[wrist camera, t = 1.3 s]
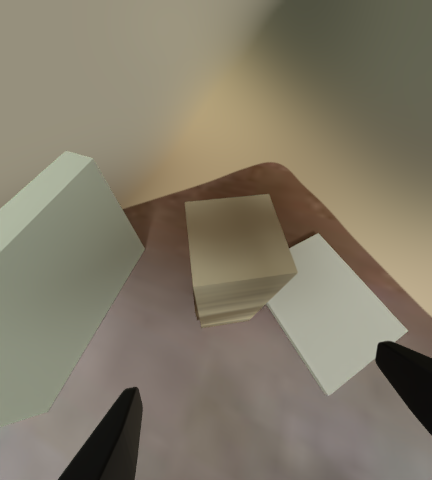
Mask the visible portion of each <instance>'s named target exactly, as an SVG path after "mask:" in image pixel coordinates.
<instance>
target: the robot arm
mask: <svg viewBox="0 0 432 480" xmlns="http://www.w3.org/2000/svg"><path fill="white" fill-rule="evenodd" d="M375 360H376V364H377V366H378V367H379V369H380V370H381V371H382V373H383V374H384V375H385V377H386V378H387V379H388V381H389V382H390V383H391V385H392V386H393V387H394V389H395V390H396V392H397V393H398V394H399V396H400V397H401V398H402V400H403V401H404V402H405V404H406V405H407V406H408V408H409V409H410V410H411V412H412V413H413V414H414V415H415V416H416V418H417V419H418V420H419V421H420V422H421V424H422V425H423V426H424V427H425V428H426V429H427V431H428V432H429V433H430V434H431V435H432V358H430V357H428V356H425V355H423V354H421V353H418V352H416V351H413V350H411V349H409V348H406V347H404V346H402V345H399V344H397V343H394V342H392V341H383V342H379V343H378V345H377V350H376V357H375ZM142 411H143V407H142V401H141V397H140V393H139V389H138V388H137V387H132V388H127V389H125V390H124V391H123V392H122V393H121V395H120V396H119V398H118V399H117V400H116V402H115V403H114V404H113V406H112V407H111V408H110V410H109V411H108V412H107V414H106V415H105V416H104V418H103V419H102V421H101V422H100V423H99V425H98V426H97V427H96V429H95V430H94V431H93V433H92V434H91V435H90V437H89V438H88V439H87V441H86V442H85V444H84V445H83V446H82V448H81V449H80V450H79V452H78V453H77V454H76V456H75V457H74V458H73V460H72V461H71V463H70V464H69V465H68V467H67V468H66V469H65V471H64V472H63V473H62V475H61V476H60V477H59V479H58V480H134V479H135V473H136V465H137V457H138V448H139V439H140V430H141V421H142Z"/></svg>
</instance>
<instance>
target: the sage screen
mask: <svg viewBox="0 0 432 480" xmlns="http://www.w3.org/2000/svg"><path fill="white" fill-rule="evenodd" d="M144 250H145V248H144V246H143V245H142V243H141V241H140V239H139V238H138V236H137V234H136V232H135V231H134V229H133V227H132V225H131V224H130V222H129V220H128V218H127V217H126V215H125V213H124V211H123V210H122V208H121V206H120V204H119V203H118V201H117V199H116V197H115V196H114V194H113V192H112V190H111V189H110V187H109V185H108V183H107V182H106V180H105V178H104V176H103V175H102V173H101V171H100V170H99V168H98V166H97V164H96V162H95V161H94V159H93V158H90V157H86V156H83V155H79V154H76V153H72V152H69V151H65V152H64V153H63V154H62V155H61V156H59V157H58V158H57V159H56V160H55V161H54V162H53V163H51V164H50V165H49V166H48V167H47V168H46V169H45V170H44V171H42V172H41V173H40V174H39V175H38V176H37V177H36V178H35V179H33V180H32V181H31V182H30V183H29V184H28V185H27V186H25V188H23V189H22V190H21V191H20V192H19V193H18V194H16V195H15V196H14V197H13V198H12V199H11V200H10V201H9V202H7V203H6V204H5V205H4V206H3V207H2V208H1V209H0V427H3V426H6V425H9V424H12V423H15V422H18V421H21V420H24V419H27V418H31V417H34V416H37V415H40V414H43V413H46V412H48V411H49V409H50V408H51V406H52V404H53V402H54V401H55V399H56V397H57V396H58V394H59V392H60V391H61V389H62V387H63V386H64V384H65V382H66V381H67V379H68V377H69V376H70V374H71V372H72V371H73V369H74V367H75V366H76V364H77V362H78V361H79V359H80V357H81V356H82V354H83V352H84V351H85V349H86V347H87V346H88V344H89V342H90V340H91V339H92V337H93V335H94V334H95V332H96V330H97V329H98V327H99V325H100V324H101V322H102V320H103V319H104V317H105V315H106V314H107V312H108V310H109V309H110V307H111V305H112V304H113V302H114V300H115V299H116V297H117V295H118V294H119V292H120V290H121V289H122V287H123V285H124V284H125V282H126V280H127V278H128V277H129V275H130V273H131V272H132V270H133V268H134V267H135V265H136V263H137V262H138V260H139V258H140V257H141V255H142V253H143V252H144Z"/></svg>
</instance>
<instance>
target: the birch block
mask: <svg viewBox="0 0 432 480" xmlns="http://www.w3.org/2000/svg"><path fill="white" fill-rule="evenodd" d="M185 211H186V221H187V231H188V241H189V251H190V261H191V271H192V273H191V274H192V284H193V295H194V305H195V313H196V317H197V320H200V323H201V327H202V328H206V327H212V326H218V325H224V324H231V323H237V322H243V321H249V320H250V319H251V318H252V317H253V316H254V315H255V314H256V313H257V312H258V311H259V310H260V309H261V308H262V307H263V306H264V305H265V304H266V303H267V302H268V301H269V300H270V299H271V298H272V297H274V296H275V295H276V294H277V293H278V292H279V291H280V290H281V289H282V288H283V287H284V286H285V285H286V284H287V283H288V282H289V281H290V280H291V279H292V278H293V277H294V276H295V275H296V274H297V273H298V271H297V268H296V266H295V263H294V260H293V258H292V255H291V252H290V249H289V247H288V244H287V241H286V239H285V236H284V233H283V231H282V228H281V225H280V222H279V220H278V217H277V214H276V212H275V209H274V206H273V204H272V201H271V198H270V195H269V194H264V195H253V196H243V197H232V198H222V199H211V200H201V201H190V202H185Z"/></svg>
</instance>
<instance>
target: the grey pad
mask: <svg viewBox="0 0 432 480" xmlns="http://www.w3.org/2000/svg"><path fill="white" fill-rule="evenodd" d="M289 249H290V252H291V255H292V258H293V260H294V263H295V266H296V268H297V271H298V273H297V274H296V275H295V276H294V277H293V278H292V279H291V280H290V281H289V282H288V283H287V284H286V285H285V286H284V287H283V288H282V289H281V290H280V291H279V292H278V293H277V294H276V295H275V296H274V297H272V298H271V299H270V300H269V301H268V302H267V303H266V305H267V306H268V308H269V309H270V311H271V313H272V314H273V316H274V317H275V319H276V320H277V322H278V323H279V325H280V326H281V328H282V329H283V331H284V333H285V334H286V336H287V337H288V339H289V340H290V342H291V343H292V345H293V346H294V348H295V350H296V351H297V353H298V354H299V356H300V357H301V359H302V360H303V362H304V363H305V365H306V366H307V368H308V370H309V371H310V373H311V374H312V376H313V377H314V379H315V380H316V382H317V383H318V385H319V387H320V388H321V390H322V391H323V393H324V394H325V395H326V396H330V395H331V394H332V393H333V392H335V391H336V390H337V389H338V388H340V387H341V386H342V385H343V384H344V383H346V382H347V381H348V380H349V379H350V378H352V377H353V376H354V375H355V374H357V373H358V372H359V371H360V370H361V369H363V368H364V367H365V366H366V365H368V364H369V363H370V362H371V361H372V360H374V359H375V357H376V350H377V345H378V343H379V342H383V341H392V342H396V341H397V340H398V339H399V338H400V337H402V336H403V335H404V334H405V333H407V332H408V330H407V329H406V328H405V327H404V326H403V325H402V324H401V323H400V321H399V320H398V319H397V318H396V317H395V316H394V315H393V314H392V313H391V312H390V311H389V310H388V308H387V307H386V306H385V305H384V304H383V303H382V302H381V301H380V300H379V299H378V298H377V296H376V295H375V294H374V293H373V292H372V291H371V290H370V289H369V288H368V287H367V286H366V284H365V283H364V282H363V281H362V280H361V279H360V278H359V277H358V276H357V275H356V274H355V272H354V271H353V270H352V269H351V268H350V267H349V266H348V265H347V264H346V263H345V262H344V261H343V259H342V258H341V257H340V256H339V255H338V254H337V253H336V252H335V251H334V250H333V249H332V247H331V246H330V245H329V244H328V243H327V242H326V241H325V240H324V239H323V238H322V237H321V235H320V234H319V233H318V234H316V235H314V236H312V237H310V238H308V239H306V240H304V241H302V242H300V243H298V244H297V245H295V246H293V247H291V248H289Z"/></svg>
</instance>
